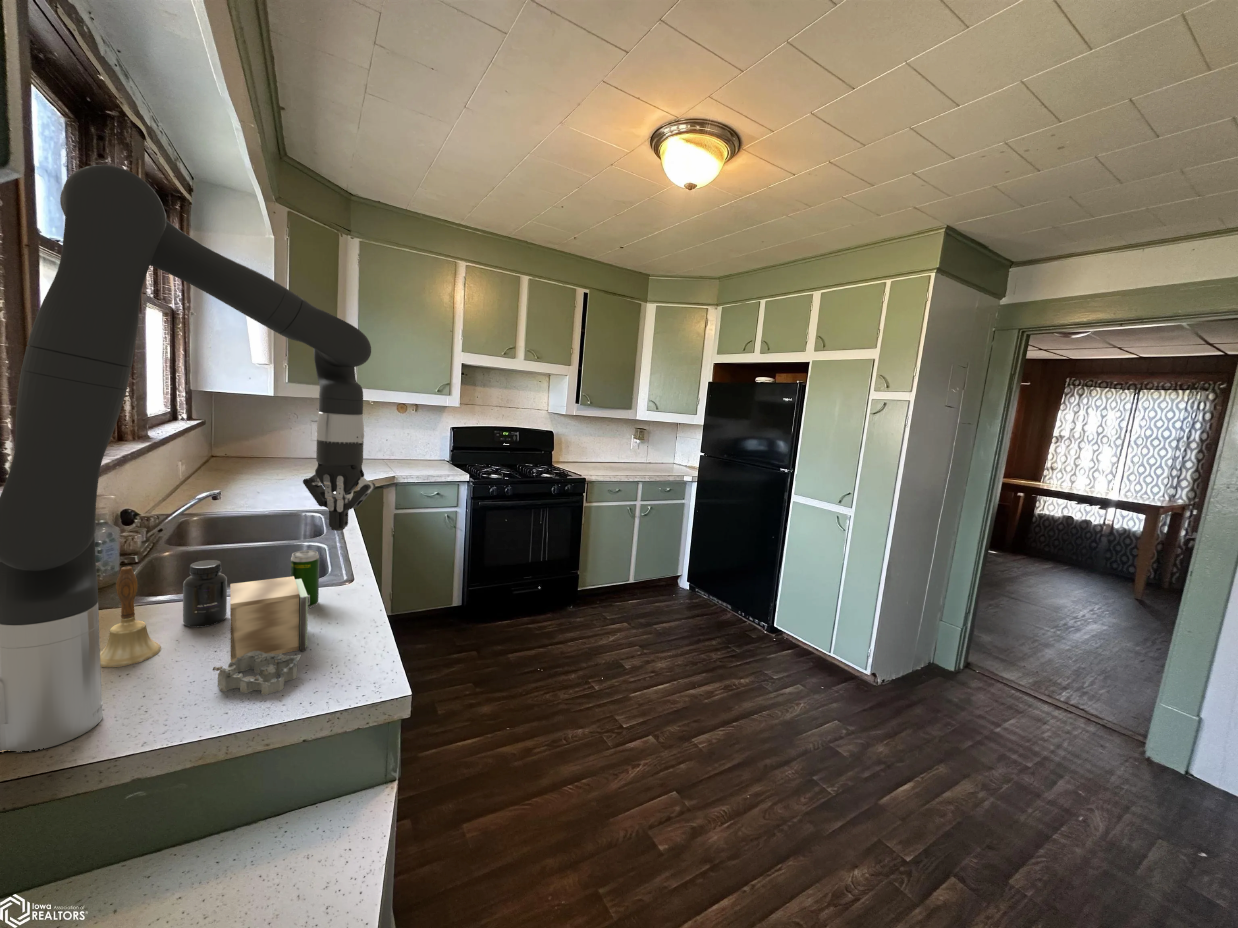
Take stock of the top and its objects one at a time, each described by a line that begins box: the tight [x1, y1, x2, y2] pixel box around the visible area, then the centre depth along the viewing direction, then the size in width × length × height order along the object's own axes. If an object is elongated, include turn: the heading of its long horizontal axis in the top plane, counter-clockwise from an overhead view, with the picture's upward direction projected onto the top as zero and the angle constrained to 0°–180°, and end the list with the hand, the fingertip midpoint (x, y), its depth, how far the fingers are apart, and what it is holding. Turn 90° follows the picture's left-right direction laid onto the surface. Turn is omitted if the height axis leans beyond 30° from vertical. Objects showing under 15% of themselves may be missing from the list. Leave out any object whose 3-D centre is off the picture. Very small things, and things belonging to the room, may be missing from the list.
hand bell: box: [100, 566, 162, 668], centre depth 85 cm, size 8×8×16 cm
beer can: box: [289, 549, 320, 609], centre depth 110 cm, size 5×5×12 cm
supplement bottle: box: [182, 559, 228, 628], centre depth 99 cm, size 7×7×12 cm
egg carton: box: [212, 651, 302, 696], centre depth 82 cm, size 11×8×4 cm
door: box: [295, 579, 309, 648], centre depth 96 cm, size 2×10×10 cm, turn 39°
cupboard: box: [229, 576, 306, 662], centre depth 92 cm, size 11×11×11 cm
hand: (338, 529), depth 92 cm, fingers closed
